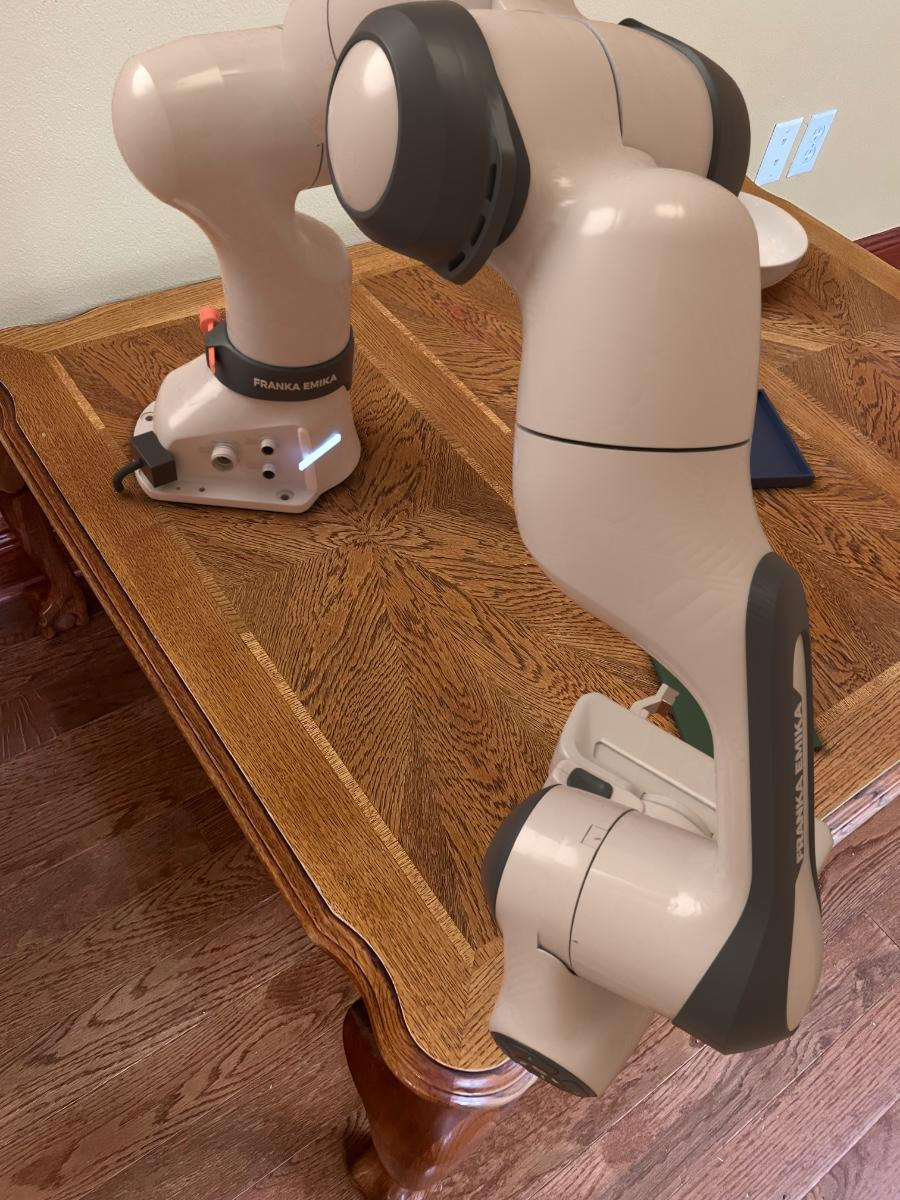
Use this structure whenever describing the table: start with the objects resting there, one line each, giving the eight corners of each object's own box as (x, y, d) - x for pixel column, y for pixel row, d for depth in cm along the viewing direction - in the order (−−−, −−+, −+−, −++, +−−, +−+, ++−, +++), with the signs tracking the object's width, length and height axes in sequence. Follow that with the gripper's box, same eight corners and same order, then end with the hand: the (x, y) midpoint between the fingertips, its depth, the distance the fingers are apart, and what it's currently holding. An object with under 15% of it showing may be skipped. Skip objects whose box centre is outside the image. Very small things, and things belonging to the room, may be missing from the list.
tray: (684, 491, 99) (688, 480, 98) (642, 401, 108) (645, 390, 107) (809, 486, 102) (815, 476, 101) (758, 398, 111) (763, 388, 110)
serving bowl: (807, 267, 133) (828, 221, 127) (758, 333, 120) (779, 285, 115) (674, 213, 138) (689, 167, 133) (614, 271, 126) (628, 222, 120)
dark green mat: (690, 763, 78) (693, 759, 77) (646, 647, 85) (648, 643, 85) (820, 749, 80) (823, 746, 80) (766, 637, 88) (769, 634, 87)
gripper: (813, 932, 59) (873, 774, 67) (532, 760, 64) (619, 633, 72) (774, 966, 64) (835, 814, 72) (516, 803, 69) (599, 680, 77)
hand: (724, 722), depth 72 cm, fingers open, 8 cm apart
